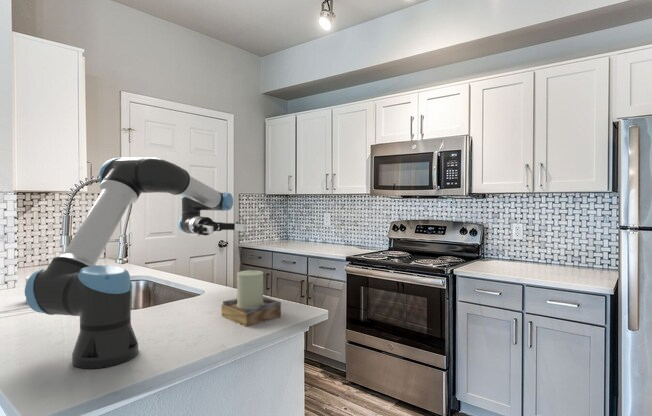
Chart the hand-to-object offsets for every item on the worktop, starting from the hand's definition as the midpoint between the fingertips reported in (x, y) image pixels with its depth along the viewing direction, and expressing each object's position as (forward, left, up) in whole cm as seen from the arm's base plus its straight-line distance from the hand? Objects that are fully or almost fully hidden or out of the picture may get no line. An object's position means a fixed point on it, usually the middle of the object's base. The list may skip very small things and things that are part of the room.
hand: (229, 229), depth 146 cm
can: (0, -14, -26) cm, 30 cm away
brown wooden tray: (0, -14, -30) cm, 33 cm away
